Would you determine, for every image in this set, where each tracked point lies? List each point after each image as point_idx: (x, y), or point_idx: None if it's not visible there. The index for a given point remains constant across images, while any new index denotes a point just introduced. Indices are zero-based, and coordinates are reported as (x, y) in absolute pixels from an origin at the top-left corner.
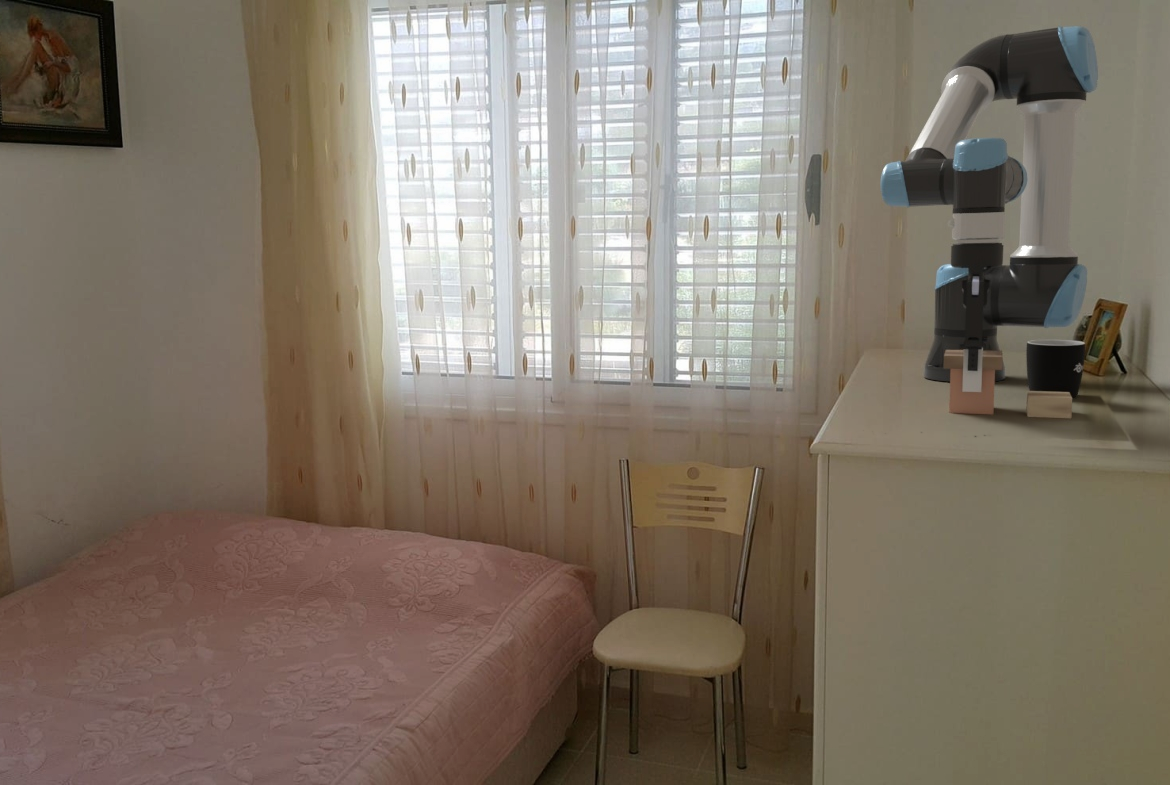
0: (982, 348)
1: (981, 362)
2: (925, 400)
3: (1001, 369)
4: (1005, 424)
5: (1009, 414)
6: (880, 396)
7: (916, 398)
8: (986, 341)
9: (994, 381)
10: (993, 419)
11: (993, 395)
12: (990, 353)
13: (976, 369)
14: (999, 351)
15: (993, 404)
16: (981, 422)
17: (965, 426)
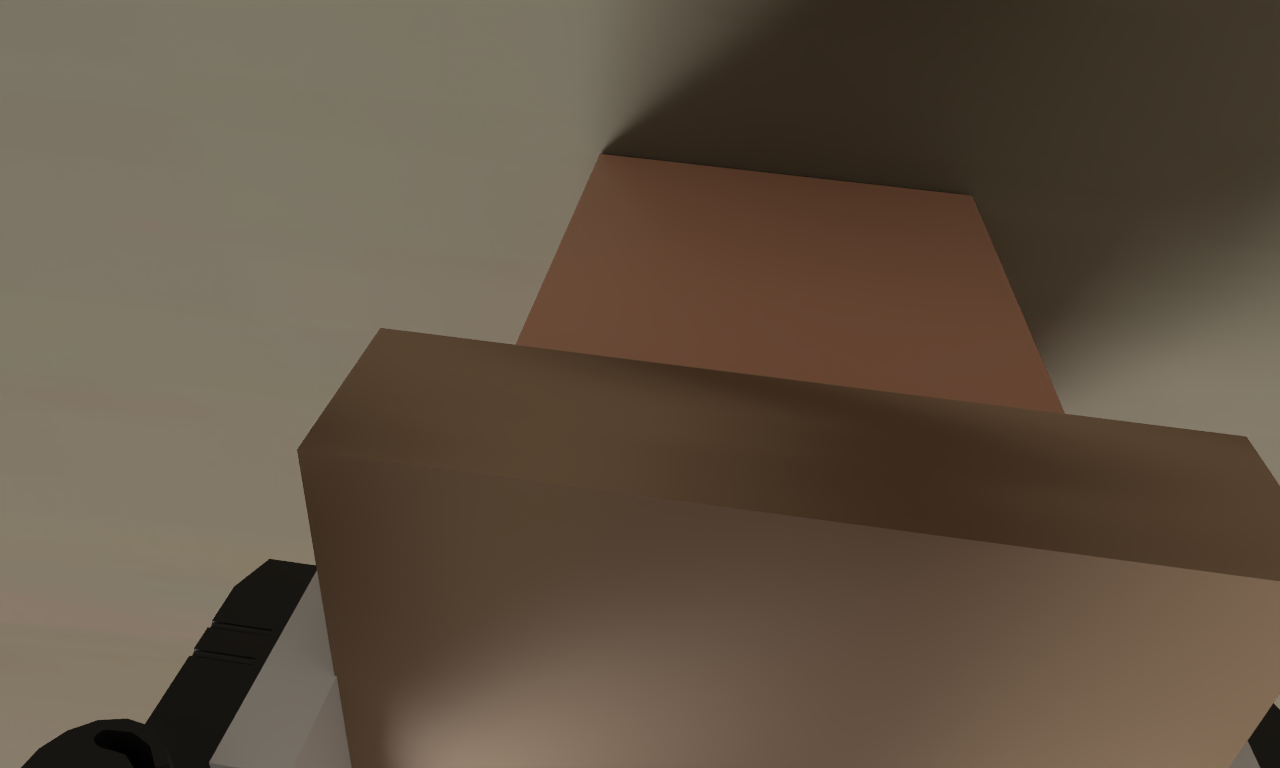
0: (325, 705)
1: (1246, 748)
2: (131, 527)
3: (1247, 451)
4: (1174, 112)
5: (608, 6)
6: (101, 713)
7: (75, 564)
8: (164, 747)
9: (1054, 396)
10: (901, 183)
11: (1019, 311)
12: (771, 659)
13: (1274, 723)
14: (435, 503)
15: (1000, 263)
16: (1053, 293)
17: (1230, 421)
